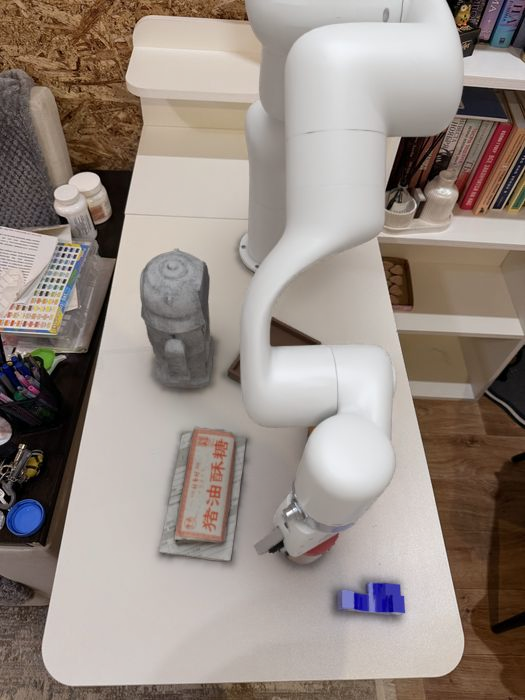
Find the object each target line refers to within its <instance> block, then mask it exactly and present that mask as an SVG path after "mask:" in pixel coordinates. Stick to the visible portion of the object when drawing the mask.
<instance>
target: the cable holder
mask: <svg viewBox="0 0 525 700" xmlns="http://www.w3.org/2000/svg"><path fill="white" fill-rule="evenodd" d="M365 588H366V589H365V591H366V592H365V593H366V594H364V593H359V592H355V591H354V590H347V589H342V590H340V591H337V593H336V610H337V611H346V612H355V613H356V612H357V613H367V614H380V615H387V616H388V615H389V616H400V615H403V614H406V605H405V595H402V589H401V584H399V583H388V582H366V584H365Z"/></svg>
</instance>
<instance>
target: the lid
mask: <svg viewBox="0 0 525 700" xmlns="http://www.w3.org/2000/svg"><path fill="white" fill-rule="evenodd" d="M339 535H340V533H337V534H336V535H334V536H332V537H331V538H329V539H327V540H326V541H324V542H322V543H321V544H319V545H317V546H316V547H314V548H312V549H310V550H309V551H307V552H305V553H303V554H302V555H306V556H307V557H308V556H314V557H315V556H318V555H321V556H323V554H325V553H326V552H329V551H330V550H331V548H332V547H333V546H335V544H336V542H337V540H338V538H339Z"/></svg>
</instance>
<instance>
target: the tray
mask: <svg viewBox="0 0 525 700" xmlns="http://www.w3.org/2000/svg"><path fill="white" fill-rule="evenodd" d="M306 345H322V341H320V340H318V339H316V338H314V337H313V336H311V335H308V334H307V333H305V332H303V331H301V330H299V329H297V328H295V327H293V326H291V325H289V324H288V323H285V322H283V321H282V320H279V319H278V318H276V317H274V316H272V318H271V324H270V346H272V347H277V346H306ZM227 377H229V378H230V379H232V380H233V381H236V382H237V383H238V384H241V373H240V353H239V354H238V355H237V356H236V358H235V359H234V361H233V362H232V363H231V365H230V366H229V367H228V369H227Z"/></svg>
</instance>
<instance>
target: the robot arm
mask: <svg viewBox="0 0 525 700" xmlns="http://www.w3.org/2000/svg"><path fill="white" fill-rule="evenodd" d="M244 6H245V12H246V15H247V19H248V23H249V26H250V28H251V30H252V33H253V34H254V36H255V37H256V39H257V41H259V43H260V44H261V52H260V62H259V63H260V64H259V75H258V76H259V77H258V95H259V99H257V100H255V101H254V102H253V103H252V104H251V105H250V106H249V107H248V109H247V111H246V113H245V118H244V136H245V143H246V149H247V156H248V157H247V159H248V173H249V174H248V207H247V208H248V211H247V213H248V215H247V231H246V233H244V235H243V237H242V238H241V239H240V242H239V248H238V249H239V250H238V251H239V257H240V259H241V260H240V261H242V263H243V264H244V266H245V267H246V268H248V270H250V271H251V272H253V273H254V274H253V276H252V278H251V280H250V282H249V284H248V286H247V288H246V292H245V294H244V297H243V301H242V304H241V310H240V317H239V354H240V373H241V383H240V393H241V401H242V404H243V407H244V410H245V413H246V415H247V417H248V419H250V421H252V422H253V423H254V424H256V425H258V426H260V427H265V428H268V429H287V428H288V429H290V428H309V426H317V427H316V428H315V429H314V430H313V432H312V433H311V435H310V436H309V438H308V437H307V440H306V444H305V447H304V448H303V449H304V450H303V453H302V455H301V458H300V461H299V464H298V468H297V471H296V474H295V477H294V480H293V483H292V487H291V491H290V492H289V493H288V495H287V496H285V498H284V499H283V501H281V504H280V505H279V506H278V508H277V510H276V511H275V514H274V516H273V522H272V524H273V526H274V529H273V530H272V531H271V532H269V534H267V535H265V536H264V537H263V538H261V539H260V540H258V542H256V543H255V544H254V545H253V547H254V549H255V551H256V553H257V555H258V556H261V555H264V554H266V553H269V554H275V553H277V551H278V553H281V554H284V553H285V554H284V555H285V557H286V556H287V557H288V556H293V557H297V556H299V555H302V554H303V553H305V552H307V551H309V550H310V549H312V548H314V547H316V546H317V545H319V544H321V543H322V542H324V541H326V540H327V539H329V538H331V537H332V536H334V535H336V534H337V533H339V534H340V533H343V532H346V531H348V530H349V529H350V528H352V527H354V525H356V523H357V522H358V521H359V520H360V519H361V518H363V516H364V515H365V514H366V512H367V511H368V510H369V509H370V508H371V506H373V504H374V503H375V502H376V501H377V500H378V499H379V498H380V497H381V495H383V493H384V492H385V491H386V490H387V488H388V487H389V486H390V484H391V482H392V480H393V478H394V475H395V473H396V465H397V460H396V452H395V447H394V445H393V443H392V434H393V433H392V428H393V403H394V397H395V394H396V389H397V371H396V366H395V363H394V362H393V361H392V358H391V356H390V354H389V352H388V351H387V350H386V349H385V348H384V347H382V346H380V345H378V344H375V343H344V344H343V343H342V344H321V345H306V346H277V347H272V346H270V324H271V318H272V317H273V315H274V314H273V313H274V310H275V308H276V305H277V304H278V301H279V300H280V298H281V296H282V295H283V293H284V292H285V290H286V289H287V288H288V286H289V285H290V284H291V283H293V281H294V280H295V279H297V277H299V276H301V274H303V273H304V272H305V271H307V270H308V269H310V268H312V267H314V266H315V265H317V264H319V263H321V262H323V261H325V260H328V259H329V258H331V257H333V256H336V255H339V254H341V253H344V252H346V251H349V250H351V249H354V248H357V247H359V246H361V245H364V244H366V243H368V242H370V241H372V240H374V239H375V238H376V237H377V236H379V235H380V234H381V233H382V231H383V229H384V227H385V221H386V183H387V181H386V177H387V145H388V144H387V143H388V142H387V140H388V139H387V138H421V137H422V138H423V137H424V138H425V137H426V138H427V137H434V136H436V135H439V134H440V133H442V132H444V131H445V130H447V128H448V127H449V126H450V125H451V123H452V122H453V121H454V118H455V116H456V115H457V113H458V110H459V107H460V104H461V100H462V96H463V90H464V79H465V66H464V64H465V63H464V54H463V53H464V52H463V46H462V43H461V42H462V41H461V38H460V34H459V31H458V28H457V25H456V21H455V18H454V16H453V13H452V10H451V8H450V6H449V4H448V2H447V0H244ZM287 557H286V558H287Z"/></svg>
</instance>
